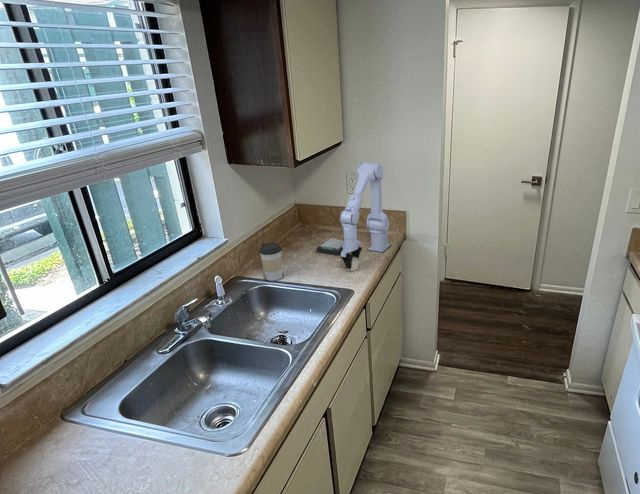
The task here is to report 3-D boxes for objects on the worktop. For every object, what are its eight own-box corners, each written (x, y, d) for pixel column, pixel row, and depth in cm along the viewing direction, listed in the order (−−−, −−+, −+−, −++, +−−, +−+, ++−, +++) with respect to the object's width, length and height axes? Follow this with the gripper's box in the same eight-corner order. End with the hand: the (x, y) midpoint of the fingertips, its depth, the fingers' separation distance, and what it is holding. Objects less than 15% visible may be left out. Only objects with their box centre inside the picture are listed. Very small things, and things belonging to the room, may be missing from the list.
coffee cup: (288, 272, 190) (284, 241, 184) (280, 282, 182) (276, 249, 176) (268, 271, 191) (263, 240, 185) (259, 281, 183) (254, 248, 177)
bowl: (349, 264, 197) (349, 256, 196) (360, 266, 196) (360, 258, 194) (343, 270, 193) (343, 261, 191) (354, 272, 191) (354, 263, 189)
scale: (329, 242, 221) (329, 237, 220) (350, 246, 217) (350, 241, 216) (316, 251, 211) (316, 246, 210) (338, 255, 207) (337, 250, 206)
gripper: (350, 230, 196) (352, 257, 201) (333, 241, 183) (335, 270, 189) (364, 232, 193) (365, 260, 199) (348, 244, 181) (350, 273, 186)
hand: (352, 265), depth 194 cm, fingers closed on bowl, 5 cm apart
